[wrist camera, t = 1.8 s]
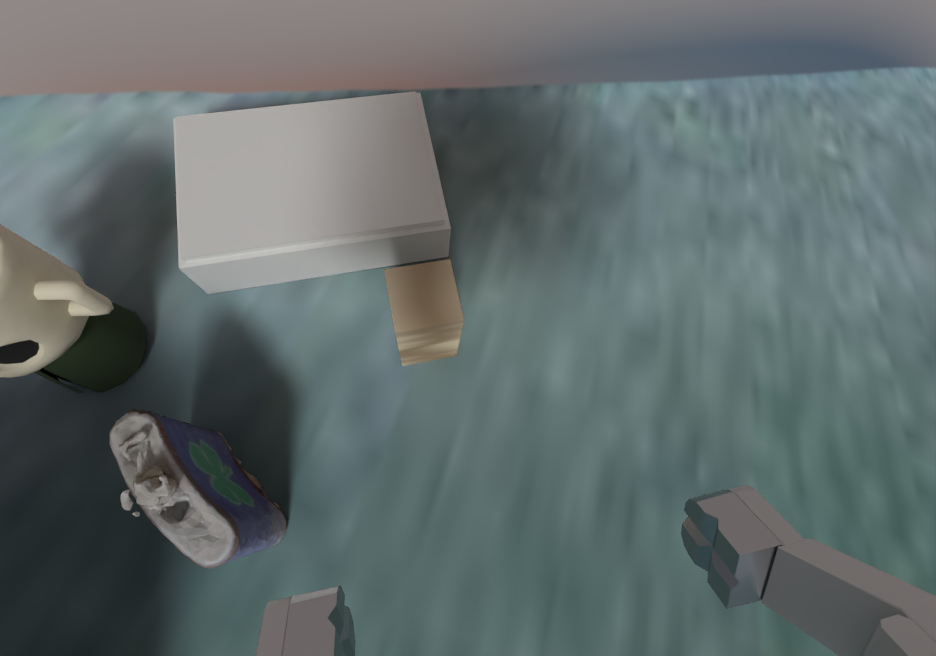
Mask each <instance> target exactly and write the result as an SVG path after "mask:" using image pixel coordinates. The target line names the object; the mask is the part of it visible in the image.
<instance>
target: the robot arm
mask: <svg viewBox="0 0 936 656" xmlns="http://www.w3.org/2000/svg"><path fill="white" fill-rule="evenodd" d="M684 511H685V512H686V514H687V515H688V517H687V518H686V520H685V521H684V522H683V523H682V530H681V535H682V539H683V543H684V546H685V548H686V550H687V552H688V554H689V556H690V557H691V559H692V560H693V562H694V563H695V565H697V566H699V567H701V568H702V569H704V570H706V571H708V583H709V585H710V586H711V587H712V589H713V590H714V592H715V593H716V594H717V596H718V597H719V599H720V600H721V602H722V603H723V604H724V606H725V607H726V609H728V608H732V607H736V606H740V605H745V604H749V603H753V602H757V601H761V600H762V603H763V604H765V605H766V606H767V607H769V608H770V609H772V610H773V611H775V612H776V613H778V614H779V615H781V616H782V617H783V618H785V619H786V620H788V621H789V622H791V623H792V624H794V625H795V626H797V627H798V628H800V629H801V630H802V631H804V632H805V633H807V634H808V635H810V636H811V637H813V638H814V639H816V640H817V641H818V642H820V643H821V644H823V645H824V646H826V647H827V648H829V649H830V650H832V651H833V652H834V653H836V654H837V655H839V656H936V596H934V595H932V594H930V593H928V592H925V591H923V590H921V589H919V588H917V587H915V586H912V585H910V584H908V583H906V582H904V581H902V580H900V579H897V578H895V577H893V576H891V575H889V574H887V573H885V572H882V571H880V570H878V569H876V568H874V567H872V566H870V565H867V564H865V563H863V562H861V561H859V560H857V559H854V558H852V557H850V556H848V555H846V554H844V553H842V552H839V551H837V550H835V549H833V548H831V547H829V546H827V545H824V544H822V543H820V542H818V541H816V540H814V539H812V538H810V539H804V538H803V537H802V536H801V535H800V534H799V533H798V532H797V531H796V530H795V529H794V528H793V527H792V526H791V525H790V524H789V523H788V522H787V521H786V520H785V519H784V518H783V517H782V516H781V515H780V514H779V513H778V512H777V511H776V510H775V509H774V508H773V507H772V506H771V505H770V504H769V503H768V502H767V501H766V500H765V499H764V498H763V497H762V496H761V495H760V494H759V493H758V492H757V491H756V490H755V489H754V488H753V487H751V486H749V485H743V486H739V487H736V488H732V489H728V490H721V491H717V492H714V493H710V494H706V495H702V496H699V497H695V498H691V499H689V500H688V501H687V502H686V503H685V508H684ZM344 600H345V595H344V592H343V590H342V587H341V586H336V587H332V588H327V589H323V590H318V591H314V592H310V593H305V594H301V595H296V596H291V597H287V598H283V599H279V600H275V601H270V602H268V603H267V605H266V607H265V610H264V612H263V617H262V623H261V628H260V633H259V639H258V644H257V649H256V654H255V656H355V635H354V624H353V619H352V615H351V612H350V609H349V607H347V606H345V605H344Z"/></svg>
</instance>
